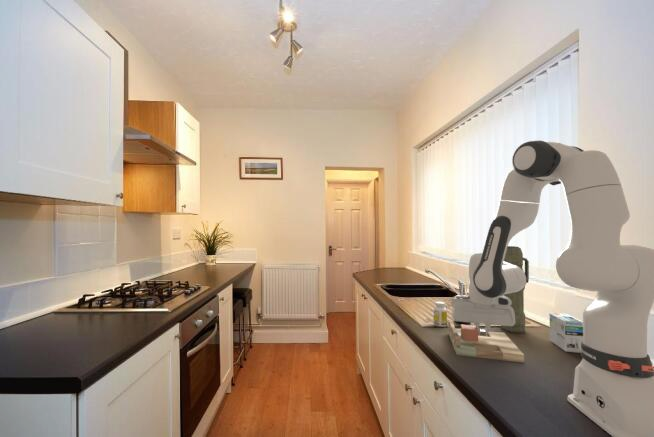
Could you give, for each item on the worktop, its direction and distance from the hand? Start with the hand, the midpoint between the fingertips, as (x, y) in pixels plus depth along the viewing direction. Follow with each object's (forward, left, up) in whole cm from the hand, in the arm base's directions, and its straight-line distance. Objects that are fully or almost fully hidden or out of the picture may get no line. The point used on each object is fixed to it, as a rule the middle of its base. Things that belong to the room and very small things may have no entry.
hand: (482, 335), depth 107 cm
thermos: (+24, -17, -4) cm, 29 cm away
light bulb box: (+9, -30, -4) cm, 31 cm away
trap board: (0, 0, -4) cm, 4 cm away
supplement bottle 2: (+27, +2, -4) cm, 27 cm away
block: (0, +4, -2) cm, 5 cm away
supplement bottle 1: (+21, +12, -4) cm, 24 cm away
